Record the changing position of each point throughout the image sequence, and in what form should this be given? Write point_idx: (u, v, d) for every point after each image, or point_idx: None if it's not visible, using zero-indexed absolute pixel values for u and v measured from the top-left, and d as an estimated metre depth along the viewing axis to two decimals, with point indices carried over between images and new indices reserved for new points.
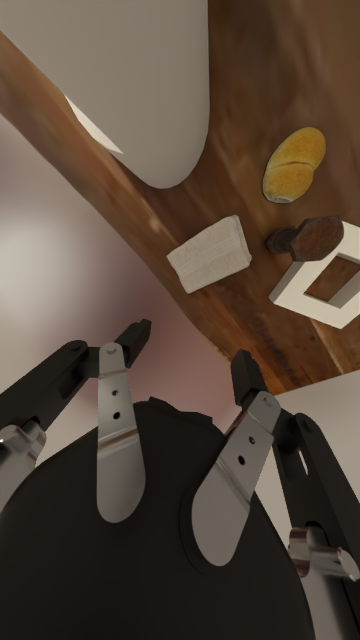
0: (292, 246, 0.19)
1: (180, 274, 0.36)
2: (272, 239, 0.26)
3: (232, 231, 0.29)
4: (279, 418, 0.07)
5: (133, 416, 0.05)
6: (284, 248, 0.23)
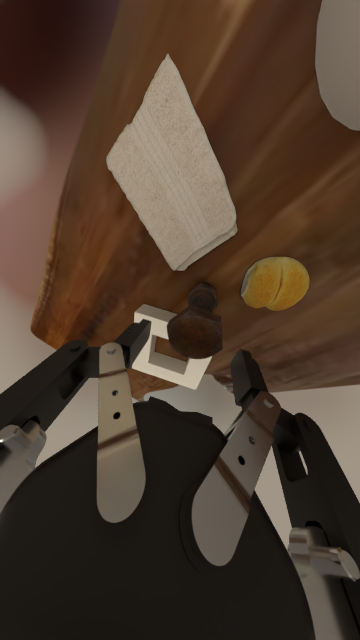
0: (184, 313, 0.12)
1: (134, 123, 0.16)
2: (203, 287, 0.20)
3: (215, 230, 0.19)
4: (279, 418, 0.07)
5: (133, 416, 0.05)
6: (190, 304, 0.18)
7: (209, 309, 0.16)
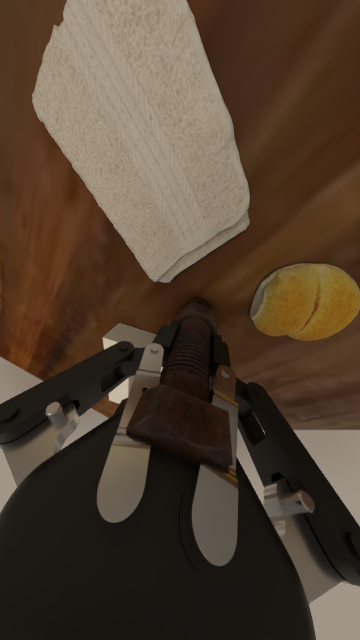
0: (139, 420, 0.05)
1: (65, 18, 0.09)
2: (196, 312, 0.13)
3: (215, 222, 0.12)
4: (234, 387, 0.08)
5: None
6: (173, 345, 0.10)
7: (204, 362, 0.09)
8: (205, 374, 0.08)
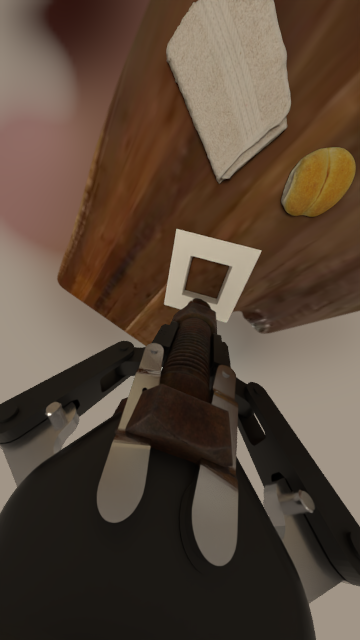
0: (138, 420, 0.05)
1: None
2: (196, 312, 0.13)
3: (268, 122, 0.20)
4: (234, 387, 0.08)
5: None
6: (173, 345, 0.10)
7: (204, 361, 0.09)
8: (205, 374, 0.08)
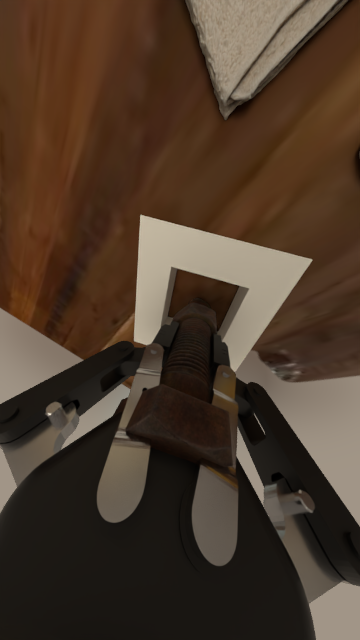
0: (138, 420, 0.05)
1: None
2: (196, 312, 0.13)
3: None
4: (234, 387, 0.08)
5: None
6: (173, 345, 0.10)
7: (204, 362, 0.09)
8: (205, 374, 0.08)
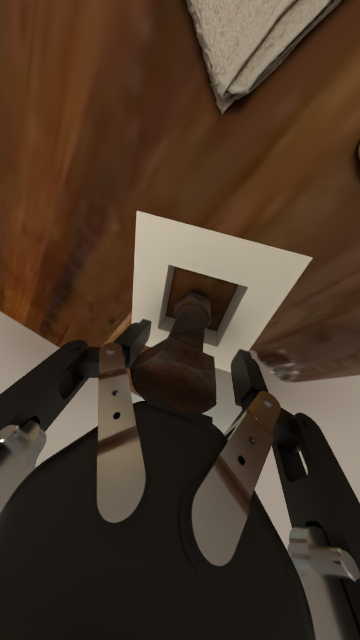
0: (154, 355, 0.07)
1: None
2: (193, 299, 0.15)
3: None
4: (279, 418, 0.07)
5: (133, 416, 0.05)
6: (175, 324, 0.13)
7: (199, 334, 0.11)
8: (199, 342, 0.11)
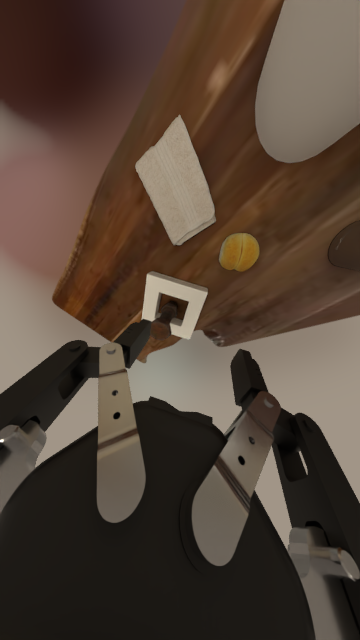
0: (154, 321, 0.31)
1: (157, 147, 0.26)
2: (168, 306, 0.39)
3: (202, 218, 0.31)
4: (279, 418, 0.07)
5: (133, 416, 0.05)
6: (161, 315, 0.37)
7: (168, 318, 0.35)
8: (168, 320, 0.35)
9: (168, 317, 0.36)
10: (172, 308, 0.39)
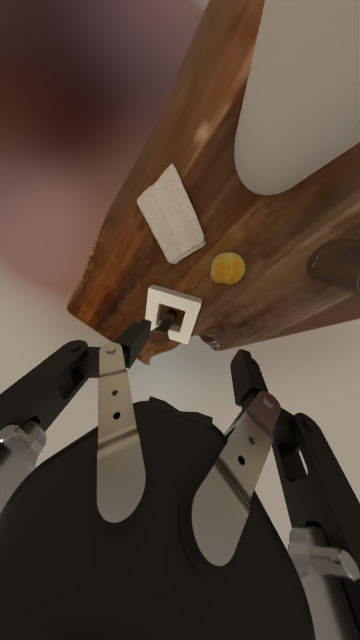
0: (154, 330, 0.36)
1: (154, 187, 0.32)
2: (167, 315, 0.44)
3: (193, 242, 0.36)
4: (279, 418, 0.07)
5: (133, 416, 0.05)
6: None
7: (167, 326, 0.40)
8: (166, 328, 0.40)
9: (166, 325, 0.41)
10: (171, 317, 0.44)
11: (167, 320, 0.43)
